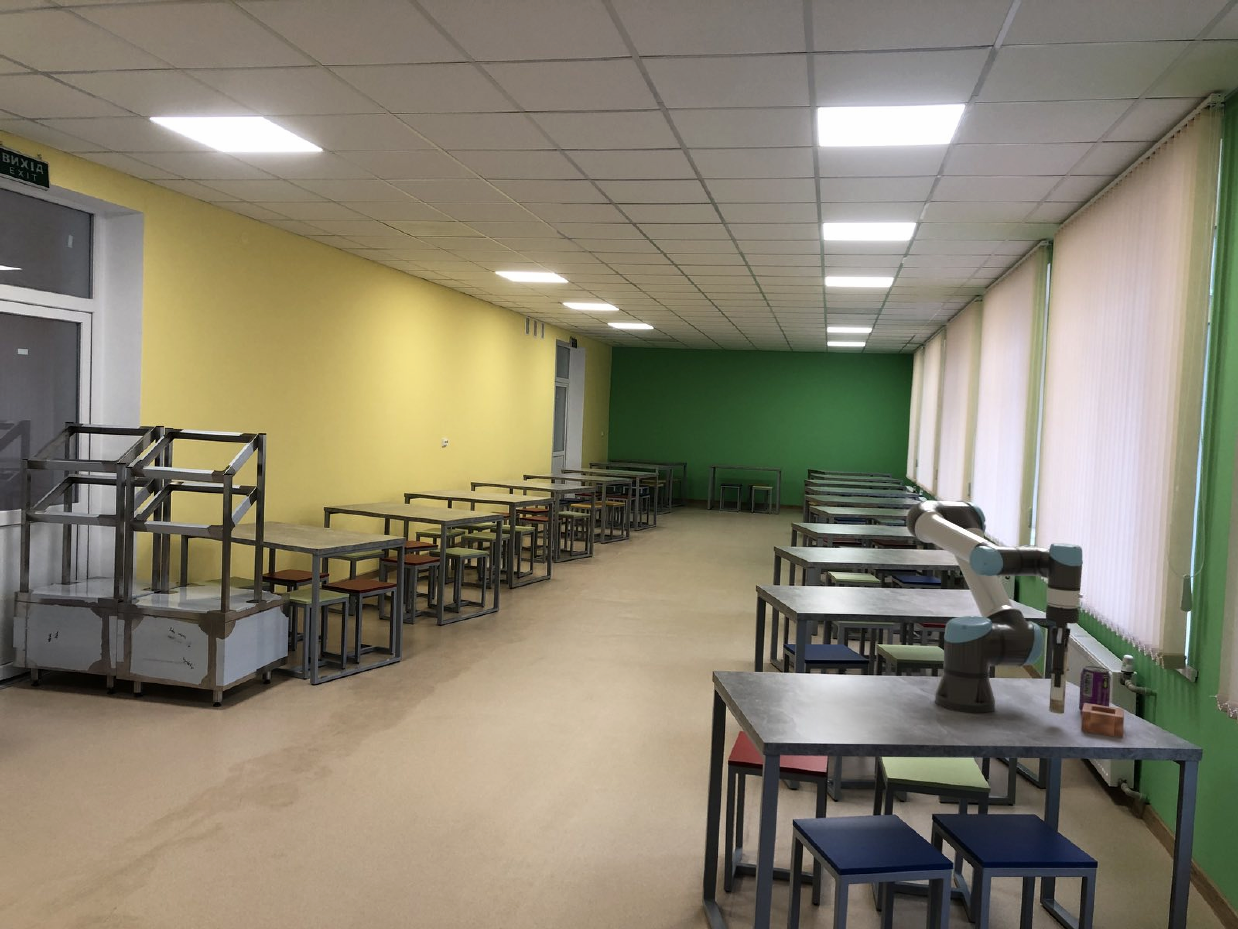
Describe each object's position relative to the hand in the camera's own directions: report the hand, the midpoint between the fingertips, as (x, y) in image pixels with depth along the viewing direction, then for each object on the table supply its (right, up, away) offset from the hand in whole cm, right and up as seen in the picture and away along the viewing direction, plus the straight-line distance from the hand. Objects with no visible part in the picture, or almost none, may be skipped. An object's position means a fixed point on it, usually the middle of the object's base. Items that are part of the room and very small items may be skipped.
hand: (1057, 697), depth 233 cm
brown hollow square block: (+10, -7, -3) cm, 13 cm away
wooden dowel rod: (0, -4, 0) cm, 4 cm away
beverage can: (+15, -7, +12) cm, 21 cm away
